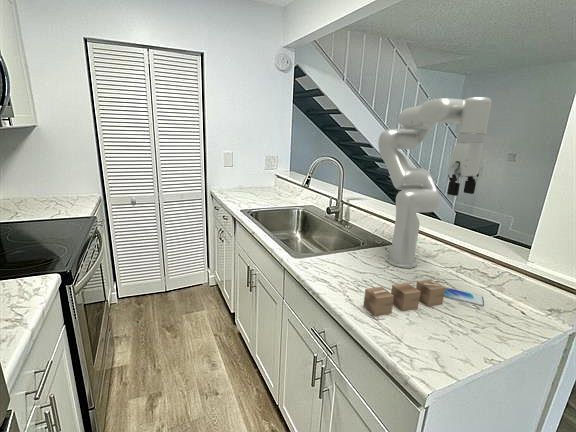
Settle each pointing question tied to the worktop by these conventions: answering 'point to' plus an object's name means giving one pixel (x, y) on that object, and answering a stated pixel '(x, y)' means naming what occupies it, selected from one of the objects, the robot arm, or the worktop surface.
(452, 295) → the smartphone
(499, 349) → the worktop surface
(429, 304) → the block seven
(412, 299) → the plain block
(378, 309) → the block one
